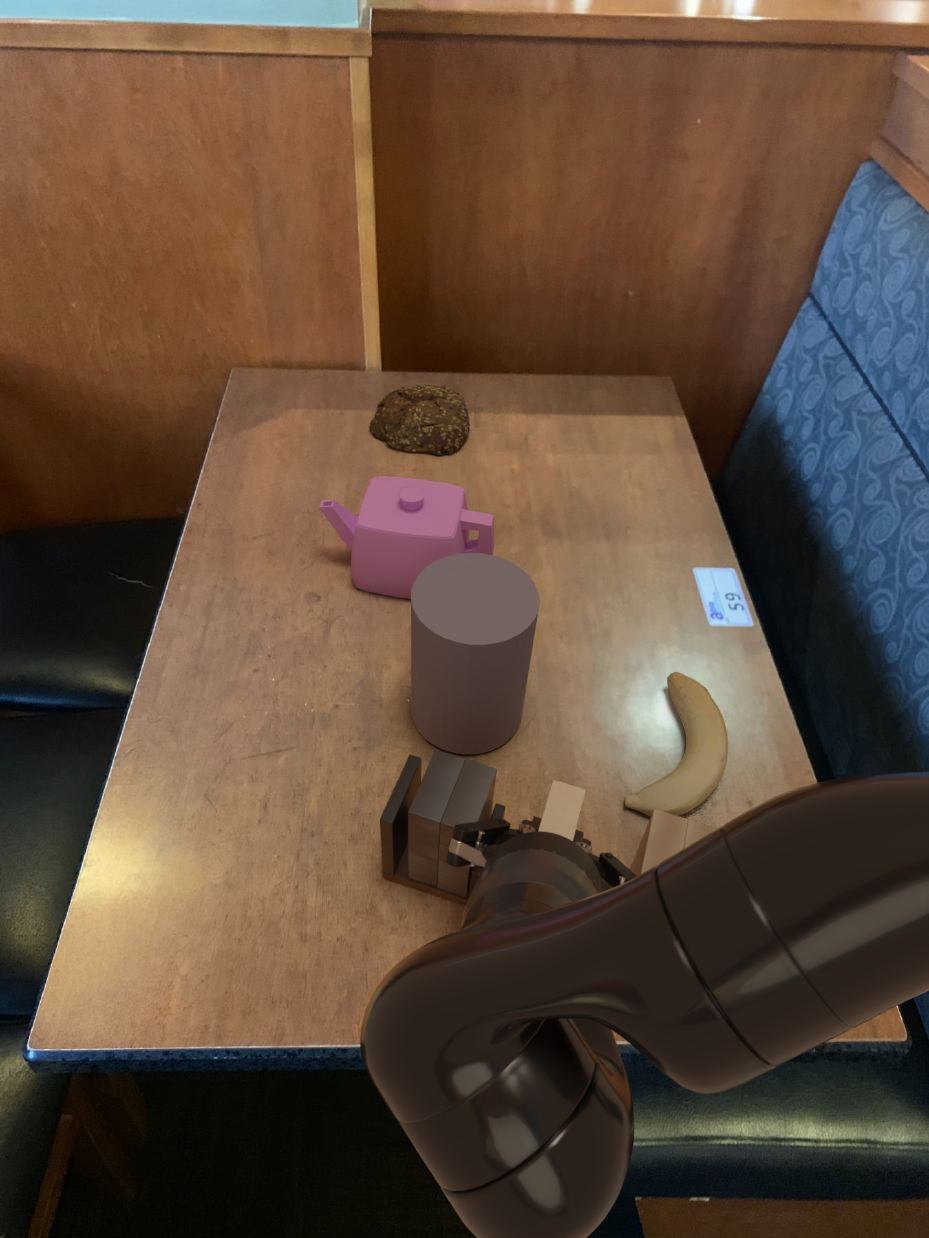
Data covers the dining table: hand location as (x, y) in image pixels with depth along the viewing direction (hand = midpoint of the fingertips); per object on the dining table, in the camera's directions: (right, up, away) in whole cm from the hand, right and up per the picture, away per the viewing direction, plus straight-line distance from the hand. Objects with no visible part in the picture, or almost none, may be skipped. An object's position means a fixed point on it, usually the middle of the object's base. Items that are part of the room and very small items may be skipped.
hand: (554, 836), depth 64 cm
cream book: (-1, -5, +2) cm, 5 cm away
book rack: (-1, -5, +3) cm, 6 cm away
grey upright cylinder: (-7, +8, +15) cm, 18 cm away
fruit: (+12, +4, +13) cm, 18 cm away
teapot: (-13, +22, +28) cm, 38 cm away
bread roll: (-12, +41, +46) cm, 63 cm away
